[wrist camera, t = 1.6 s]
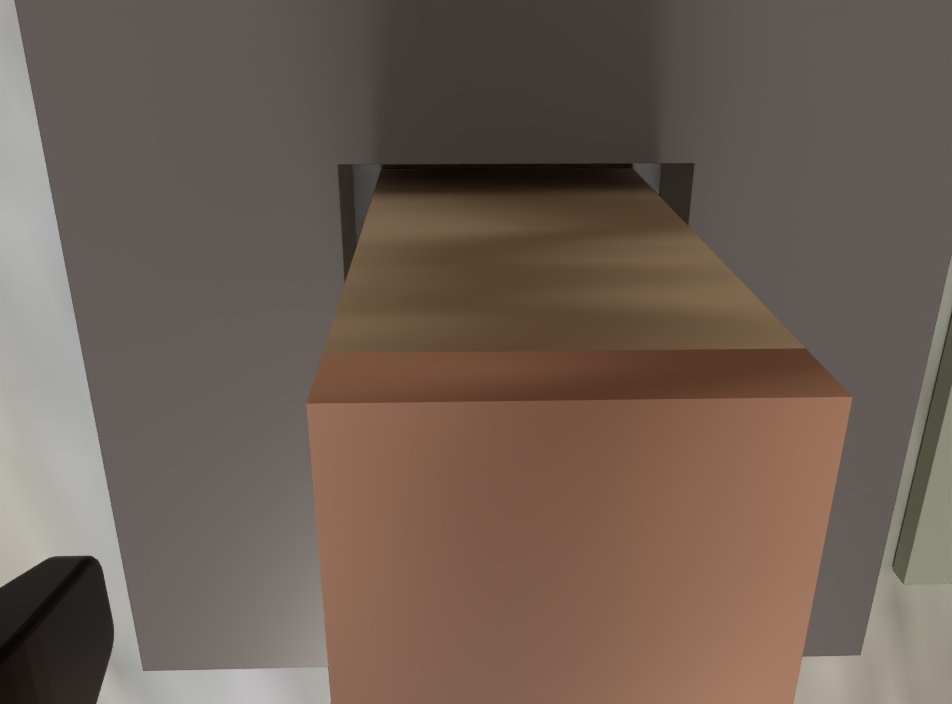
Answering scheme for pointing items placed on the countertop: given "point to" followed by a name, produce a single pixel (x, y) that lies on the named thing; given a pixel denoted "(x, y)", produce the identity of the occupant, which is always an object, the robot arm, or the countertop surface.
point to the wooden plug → (562, 454)
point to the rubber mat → (931, 493)
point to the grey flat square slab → (456, 142)
